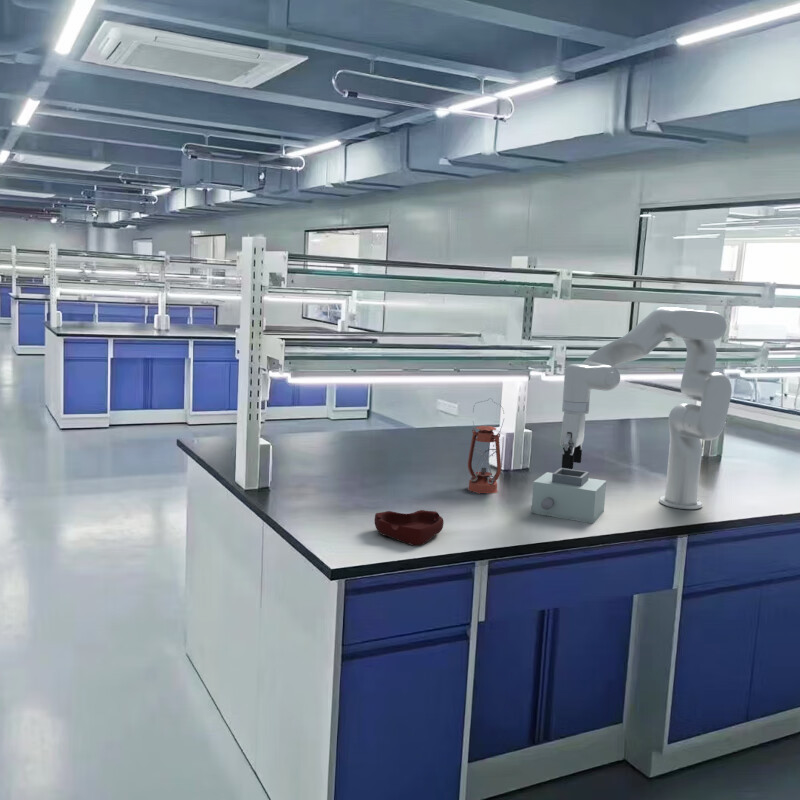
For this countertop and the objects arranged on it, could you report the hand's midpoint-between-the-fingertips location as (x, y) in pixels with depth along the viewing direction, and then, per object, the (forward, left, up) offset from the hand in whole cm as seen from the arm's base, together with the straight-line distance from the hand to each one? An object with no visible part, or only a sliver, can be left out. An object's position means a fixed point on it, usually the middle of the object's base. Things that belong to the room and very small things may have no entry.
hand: (571, 465), depth 227 cm
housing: (+1, 0, -14) cm, 14 cm away
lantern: (-9, -30, -14) cm, 34 cm away
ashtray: (+46, -29, -15) cm, 56 cm away
